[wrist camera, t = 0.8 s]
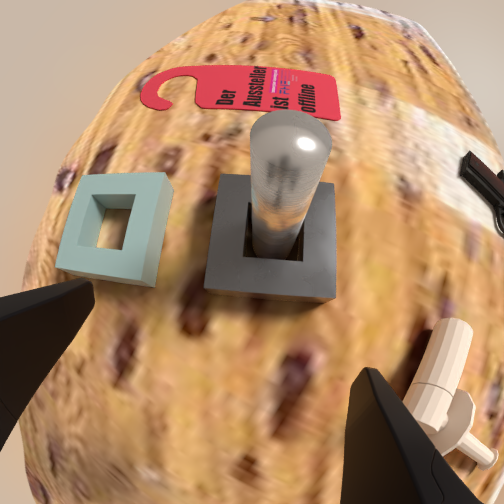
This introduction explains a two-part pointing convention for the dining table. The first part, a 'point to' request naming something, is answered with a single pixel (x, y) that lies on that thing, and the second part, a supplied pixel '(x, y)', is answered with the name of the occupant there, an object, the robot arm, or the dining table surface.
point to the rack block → (137, 235)
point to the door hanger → (253, 89)
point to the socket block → (271, 270)
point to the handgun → (485, 183)
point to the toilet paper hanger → (447, 394)
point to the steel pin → (284, 177)
